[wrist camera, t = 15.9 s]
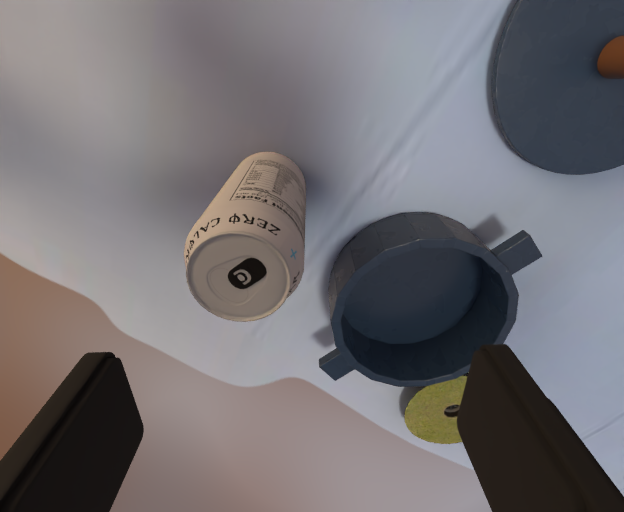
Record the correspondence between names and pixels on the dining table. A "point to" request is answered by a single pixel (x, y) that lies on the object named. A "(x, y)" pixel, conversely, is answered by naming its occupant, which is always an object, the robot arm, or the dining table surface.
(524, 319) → the dining table surface
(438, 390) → the olive green disc
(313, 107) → the dining table surface
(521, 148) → the pan lid
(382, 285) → the pan
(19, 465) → the robot arm
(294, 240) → the energy drink can
